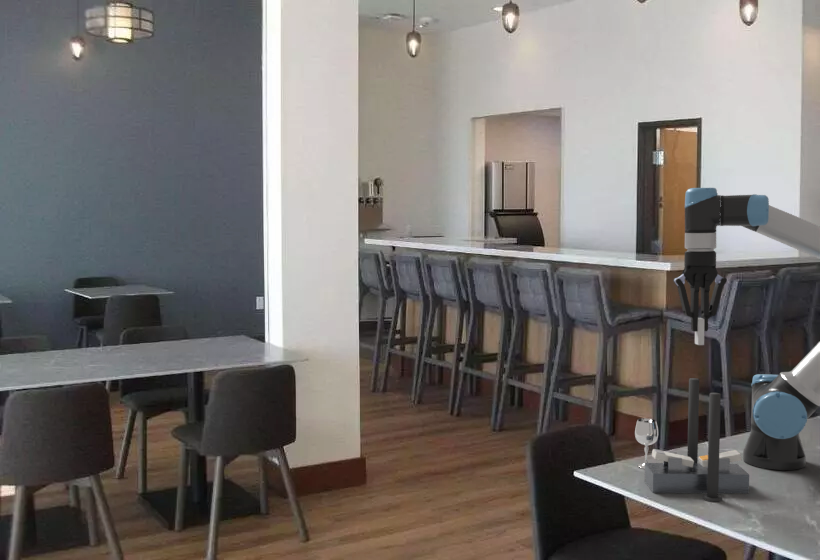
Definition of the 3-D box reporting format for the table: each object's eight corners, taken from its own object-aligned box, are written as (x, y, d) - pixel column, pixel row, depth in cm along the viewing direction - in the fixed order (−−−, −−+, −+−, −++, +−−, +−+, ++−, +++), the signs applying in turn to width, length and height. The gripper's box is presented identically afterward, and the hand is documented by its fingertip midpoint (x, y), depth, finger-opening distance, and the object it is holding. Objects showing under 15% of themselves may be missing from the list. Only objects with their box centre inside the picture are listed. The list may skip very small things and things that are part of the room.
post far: (698, 474, 226) (700, 377, 224) (702, 478, 222) (704, 380, 220) (681, 473, 226) (683, 377, 224) (685, 478, 222) (688, 380, 220)
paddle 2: (736, 455, 216) (735, 449, 216) (741, 460, 212) (740, 453, 212) (699, 462, 216) (697, 456, 216) (703, 467, 212) (702, 460, 212)
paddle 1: (688, 462, 216) (690, 456, 216) (692, 467, 213) (694, 460, 212) (651, 454, 217) (652, 448, 217) (655, 459, 213) (656, 452, 213)
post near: (718, 496, 208) (721, 392, 206) (724, 502, 204) (726, 395, 202) (701, 496, 208) (703, 391, 206) (706, 501, 204) (708, 395, 202)
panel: (736, 482, 219) (737, 450, 218) (748, 493, 210) (749, 461, 209) (644, 481, 220) (645, 449, 219) (652, 492, 211) (653, 460, 210)
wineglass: (658, 470, 229) (659, 423, 228) (634, 469, 230) (635, 422, 229) (656, 464, 234) (657, 418, 233) (634, 462, 236) (634, 417, 235)
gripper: (721, 249, 229) (720, 341, 231) (669, 249, 229) (669, 342, 230) (731, 250, 221) (730, 346, 223) (678, 251, 221) (678, 346, 223)
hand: (699, 344), depth 227 cm, fingers closed
